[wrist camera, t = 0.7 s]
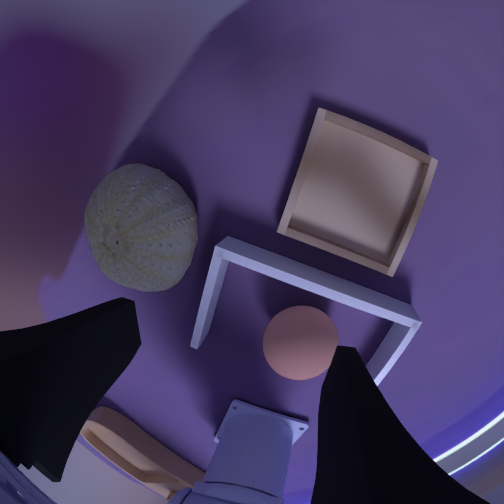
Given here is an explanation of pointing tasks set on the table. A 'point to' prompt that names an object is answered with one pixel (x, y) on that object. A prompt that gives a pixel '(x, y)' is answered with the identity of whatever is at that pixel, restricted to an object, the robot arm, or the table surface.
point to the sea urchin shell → (141, 228)
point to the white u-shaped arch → (313, 282)
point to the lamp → (138, 453)
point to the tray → (357, 192)
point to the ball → (300, 342)
